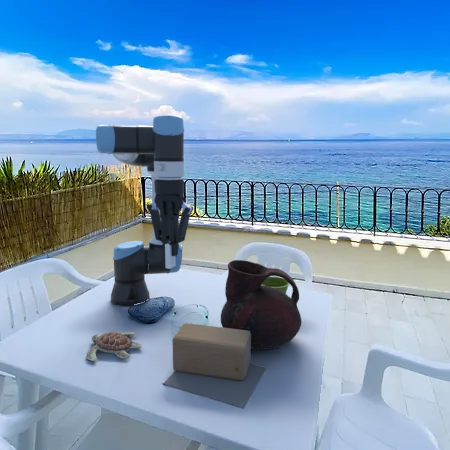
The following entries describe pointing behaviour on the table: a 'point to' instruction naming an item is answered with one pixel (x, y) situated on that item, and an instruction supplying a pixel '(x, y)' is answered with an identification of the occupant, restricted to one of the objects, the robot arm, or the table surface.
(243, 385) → the mat
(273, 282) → the plant pot
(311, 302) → the table surface
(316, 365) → the table surface
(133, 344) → the decorative turtle
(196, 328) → the wooden block
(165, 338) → the table surface
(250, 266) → the jug
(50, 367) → the table surface
